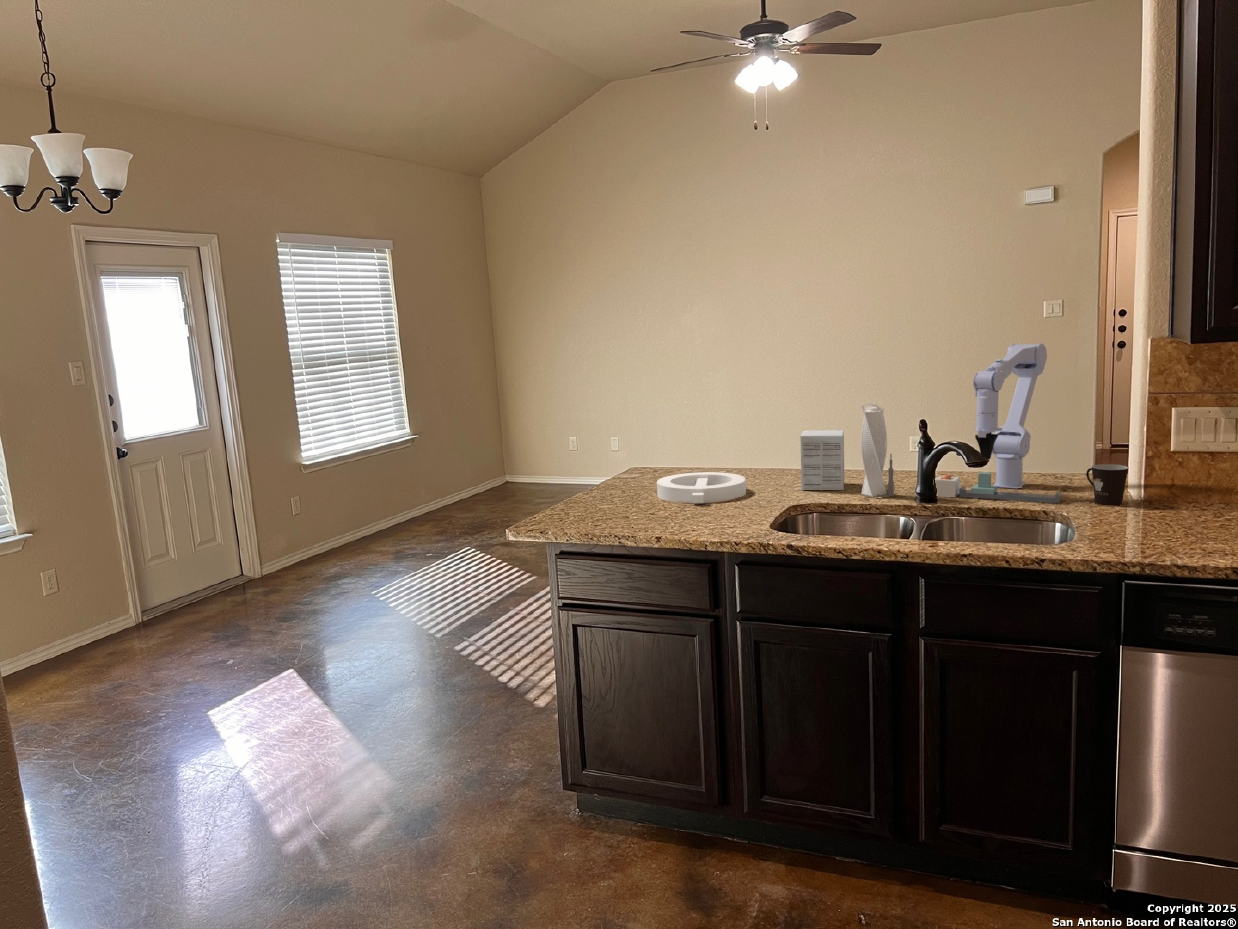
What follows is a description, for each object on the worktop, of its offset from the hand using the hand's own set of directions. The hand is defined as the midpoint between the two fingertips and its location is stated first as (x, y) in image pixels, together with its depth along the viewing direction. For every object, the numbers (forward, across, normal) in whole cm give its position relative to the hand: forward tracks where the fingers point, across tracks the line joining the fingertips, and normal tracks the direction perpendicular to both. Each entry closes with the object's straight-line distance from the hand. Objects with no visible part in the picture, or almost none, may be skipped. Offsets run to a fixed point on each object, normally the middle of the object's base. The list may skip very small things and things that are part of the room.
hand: (986, 459), depth 254 cm
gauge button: (+7, -5, +10) cm, 13 cm away
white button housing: (+10, -4, +10) cm, 15 cm away
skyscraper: (+11, -12, +29) cm, 33 cm away
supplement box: (+11, -4, +48) cm, 49 cm away
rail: (+10, -4, -7) cm, 13 cm away
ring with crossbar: (+12, -26, +80) cm, 85 cm away
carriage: (+9, -5, -1) cm, 10 cm away
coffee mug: (+10, 0, -31) cm, 33 cm away
